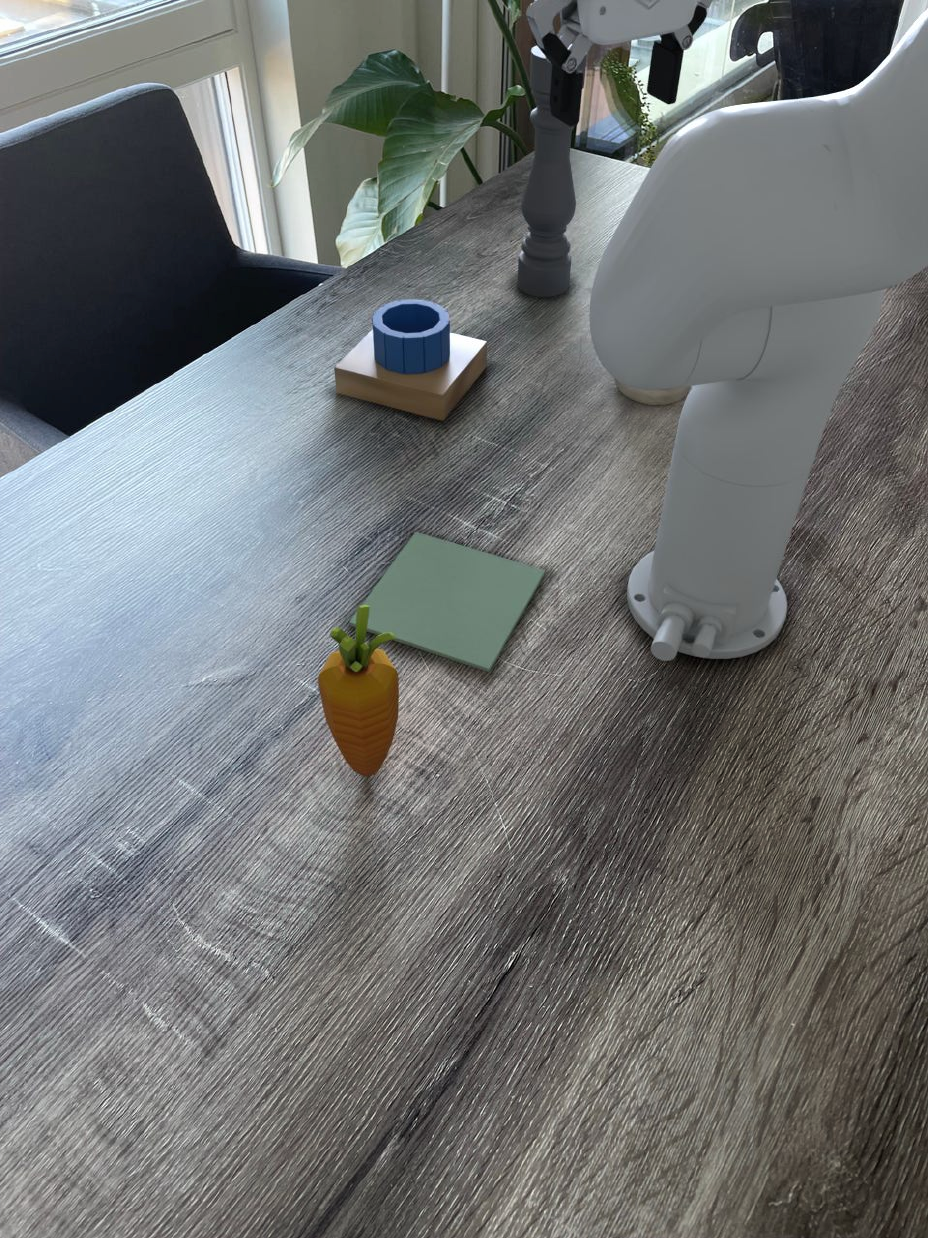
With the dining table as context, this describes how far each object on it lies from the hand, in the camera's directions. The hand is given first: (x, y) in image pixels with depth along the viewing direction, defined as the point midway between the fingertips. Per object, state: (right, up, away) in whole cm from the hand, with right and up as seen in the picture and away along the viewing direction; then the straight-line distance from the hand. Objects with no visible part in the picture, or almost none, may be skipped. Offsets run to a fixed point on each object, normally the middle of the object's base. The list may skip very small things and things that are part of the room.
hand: (613, 109), depth 82 cm
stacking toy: (+7, -18, +21) cm, 29 cm away
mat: (-13, -40, -1) cm, 42 cm away
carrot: (-19, -53, -13) cm, 57 cm away
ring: (-18, -15, +20) cm, 30 cm away
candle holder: (-3, -2, +37) cm, 37 cm away
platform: (-18, -17, +22) cm, 33 cm away
